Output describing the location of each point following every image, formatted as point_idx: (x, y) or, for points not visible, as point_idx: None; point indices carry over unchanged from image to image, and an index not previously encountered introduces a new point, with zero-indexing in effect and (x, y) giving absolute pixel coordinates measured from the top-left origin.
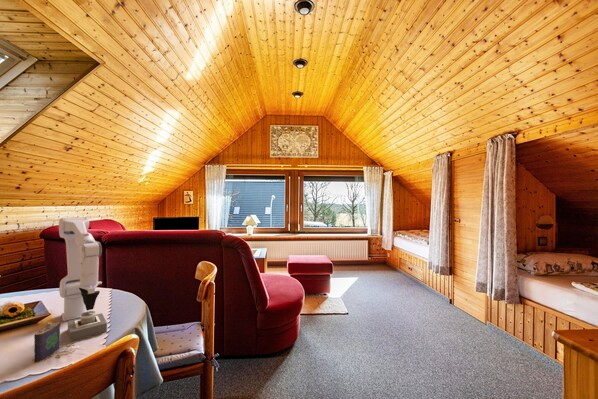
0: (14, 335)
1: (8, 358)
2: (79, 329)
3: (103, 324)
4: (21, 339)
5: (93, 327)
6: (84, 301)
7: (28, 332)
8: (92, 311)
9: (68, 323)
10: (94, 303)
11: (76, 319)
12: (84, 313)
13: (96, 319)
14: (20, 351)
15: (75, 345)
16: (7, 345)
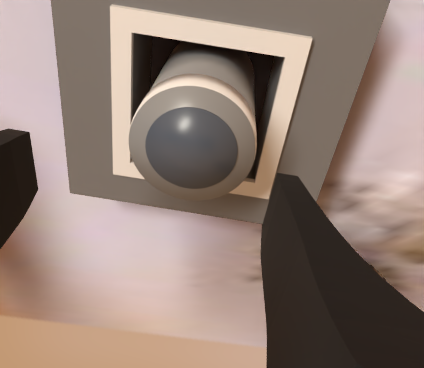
0: (9, 299)
1: (246, 340)
2: (310, 187)
3: (377, 25)
4: (78, 294)
5: (347, 103)
6: (17, 215)
7: (5, 268)
8: (175, 111)
9: (119, 199)
10: (328, 221)
11: (76, 151)
12: (174, 175)
13: (208, 43)
14: (213, 314)
15: (379, 184)
16: (109, 325)
